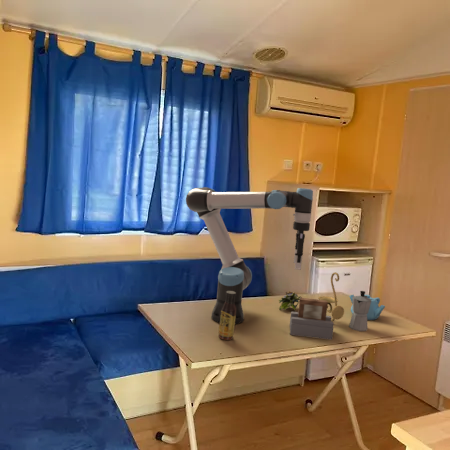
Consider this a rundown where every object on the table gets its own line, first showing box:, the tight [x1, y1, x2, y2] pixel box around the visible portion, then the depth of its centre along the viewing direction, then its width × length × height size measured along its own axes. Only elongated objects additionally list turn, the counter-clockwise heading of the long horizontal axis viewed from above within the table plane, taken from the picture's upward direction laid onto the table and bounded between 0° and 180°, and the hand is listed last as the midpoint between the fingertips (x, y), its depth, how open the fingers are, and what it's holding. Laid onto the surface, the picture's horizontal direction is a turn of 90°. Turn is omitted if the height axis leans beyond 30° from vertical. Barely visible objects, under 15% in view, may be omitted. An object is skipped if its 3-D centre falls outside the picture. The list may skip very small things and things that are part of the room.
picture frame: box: [297, 297, 329, 321], centre depth 203 cm, size 12×3×10 cm, turn 84°
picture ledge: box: [289, 311, 335, 341], centre depth 204 cm, size 18×12×7 cm, turn 84°
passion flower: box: [278, 291, 303, 312], centre depth 234 cm, size 11×11×12 cm
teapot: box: [349, 294, 386, 321], centre depth 235 cm, size 15×17×11 cm
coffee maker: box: [348, 290, 371, 332], centre depth 216 cm, size 15×9×18 cm, turn 151°
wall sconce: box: [317, 272, 345, 323], centre depth 220 cm, size 14×10×25 cm
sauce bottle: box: [218, 291, 236, 341], centre depth 188 cm, size 7×6×20 cm
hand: (297, 266), depth 215 cm, fingers open, 13 cm apart
